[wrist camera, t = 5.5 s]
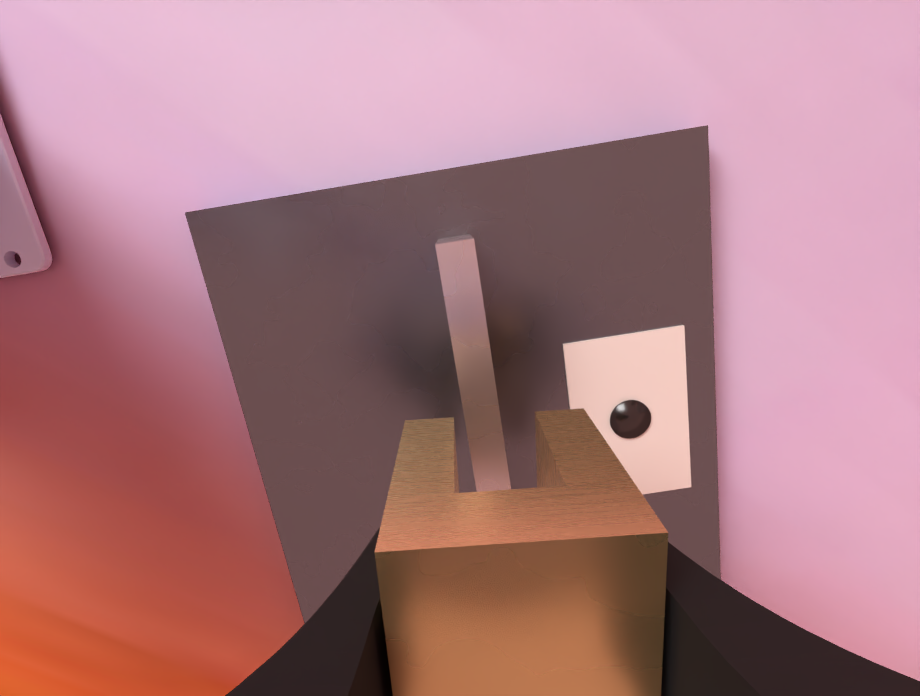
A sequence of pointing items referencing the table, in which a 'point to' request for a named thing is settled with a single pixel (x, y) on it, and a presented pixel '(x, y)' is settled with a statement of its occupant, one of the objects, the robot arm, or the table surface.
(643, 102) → the table surface
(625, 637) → the brass clip
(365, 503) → the plate
